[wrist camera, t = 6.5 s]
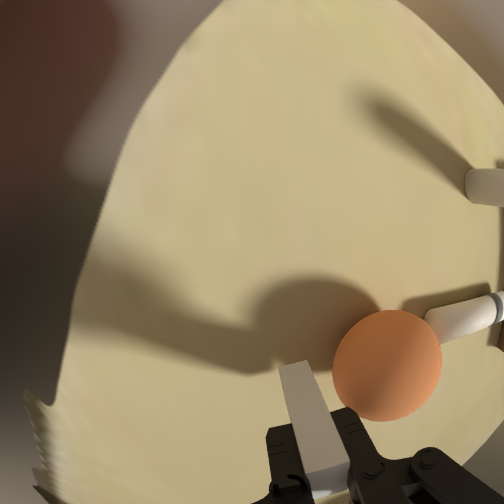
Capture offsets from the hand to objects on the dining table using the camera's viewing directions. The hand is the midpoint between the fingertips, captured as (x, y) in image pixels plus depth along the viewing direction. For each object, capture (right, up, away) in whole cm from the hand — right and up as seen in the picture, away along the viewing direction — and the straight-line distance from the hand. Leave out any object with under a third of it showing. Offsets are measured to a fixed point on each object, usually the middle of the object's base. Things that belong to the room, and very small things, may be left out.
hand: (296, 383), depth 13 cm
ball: (+5, +1, -1) cm, 5 cm away
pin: (+9, +2, +1) cm, 9 cm away
